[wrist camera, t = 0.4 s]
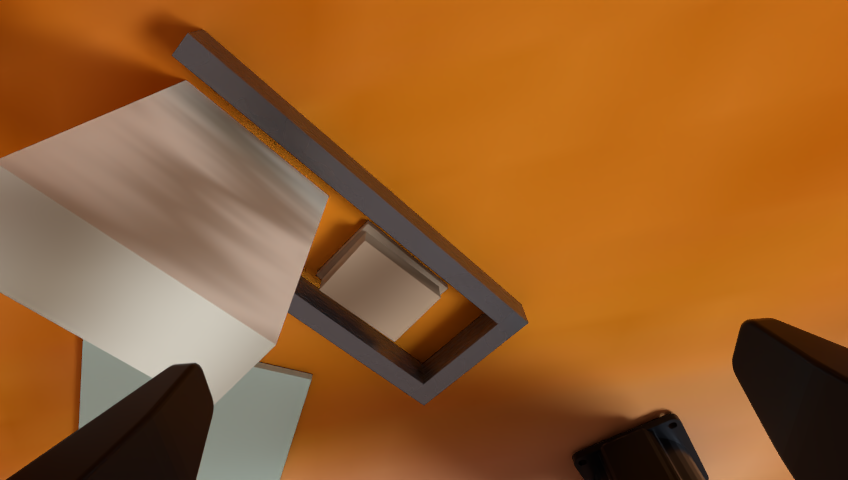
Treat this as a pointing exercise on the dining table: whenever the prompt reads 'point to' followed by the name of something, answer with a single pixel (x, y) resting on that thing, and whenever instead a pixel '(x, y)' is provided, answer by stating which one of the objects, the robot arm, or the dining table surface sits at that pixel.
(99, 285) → the beige rectangular block
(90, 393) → the mat
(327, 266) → the block
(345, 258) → the upper offcut
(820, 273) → the dining table surface
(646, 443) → the robot arm
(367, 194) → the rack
